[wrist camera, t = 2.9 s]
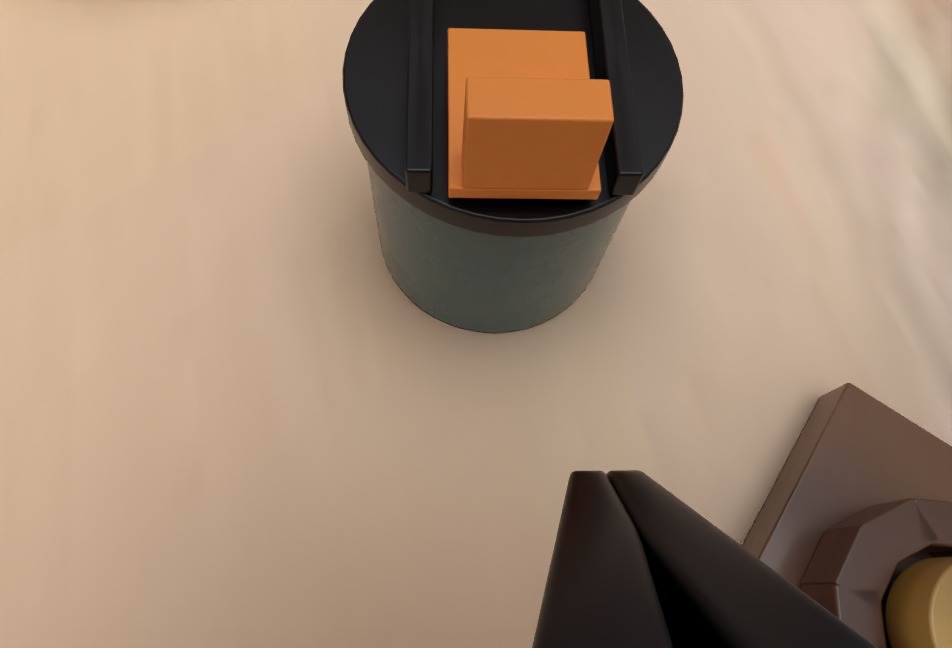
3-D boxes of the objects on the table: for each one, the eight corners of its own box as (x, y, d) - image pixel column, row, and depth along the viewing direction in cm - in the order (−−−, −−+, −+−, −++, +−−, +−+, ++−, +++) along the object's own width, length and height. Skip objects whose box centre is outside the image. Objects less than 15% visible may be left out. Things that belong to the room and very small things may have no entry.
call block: (958, 923, 18) (1077, 999, 14) (660, 699, 19) (706, 721, 16) (1078, 559, 21) (1195, 554, 18) (820, 395, 23) (884, 363, 19)
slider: (597, 200, 15) (630, 120, 13) (447, 198, 15) (450, 117, 13) (582, 42, 17) (608, -56, 14) (447, 39, 17) (449, -61, 14)
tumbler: (620, 341, 23) (723, 203, 15) (366, 341, 23) (325, 198, 14) (598, 133, 26) (673, -77, 18) (375, 129, 26) (346, -90, 17)
